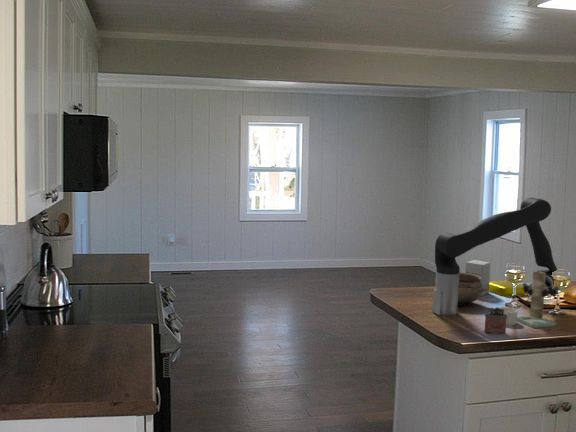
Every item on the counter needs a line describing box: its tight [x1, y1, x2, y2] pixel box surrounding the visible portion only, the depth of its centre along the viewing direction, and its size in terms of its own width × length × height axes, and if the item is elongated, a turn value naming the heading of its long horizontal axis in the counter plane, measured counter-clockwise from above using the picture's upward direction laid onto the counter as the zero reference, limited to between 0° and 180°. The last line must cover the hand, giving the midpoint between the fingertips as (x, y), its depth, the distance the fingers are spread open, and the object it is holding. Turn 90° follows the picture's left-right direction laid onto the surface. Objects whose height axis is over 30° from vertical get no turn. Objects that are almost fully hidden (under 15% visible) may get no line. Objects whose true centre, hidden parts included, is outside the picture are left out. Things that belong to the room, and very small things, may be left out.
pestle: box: [529, 271, 546, 320], centre depth 251 cm, size 5×5×18 cm
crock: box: [498, 306, 519, 326], centre depth 253 cm, size 8×8×6 cm
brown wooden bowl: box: [433, 272, 488, 306], centre depth 283 cm, size 25×19×12 cm
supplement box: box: [464, 259, 491, 297], centre depth 303 cm, size 9×9×15 cm
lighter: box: [483, 306, 507, 335], centre depth 238 cm, size 8×3×10 cm, turn 92°
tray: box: [517, 315, 558, 329], centre depth 253 cm, size 11×11×2 cm
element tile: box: [489, 279, 529, 298], centre depth 308 cm, size 15×15×5 cm
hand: (537, 293), depth 249 cm, fingers closed on pestle, 4 cm apart
